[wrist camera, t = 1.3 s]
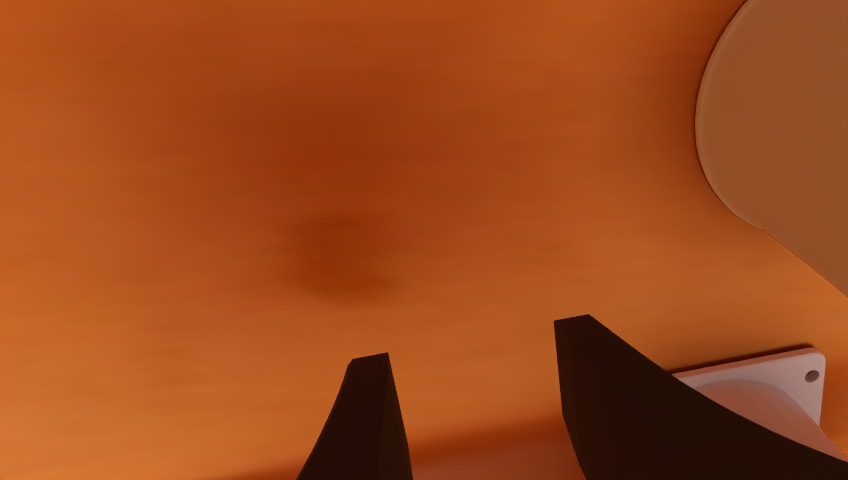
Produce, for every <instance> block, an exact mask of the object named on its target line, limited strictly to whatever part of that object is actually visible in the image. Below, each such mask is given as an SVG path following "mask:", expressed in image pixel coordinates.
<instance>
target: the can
mask: <svg viewBox="0 0 848 480" xmlns="http://www.w3.org/2000/svg"><path fill="white" fill-rule="evenodd" d="M695 135H696V146H697V151H698V155H699V159H700V163H701V166H702V168H703V171H704V174H705V176H706V178H707V180H708V182H709V184H710V186H711V188H712V189H713V191H714V192H715V193H716V195H717V196H718V197H719V199H720V200H721V201H722V202H723V203H724V204H725V205H726V207H727V208H728V209H729V210H731V211H732V212H733V213H734V214H735V215H737V216H738V217H739V218H741V219H742V220H744V221H745V222H747V223H749V224H751V225H753V226H755V227H757V228H759V229H761V230H764V231H765V232H766V233H768V234H769V235H770V236H772V237H773V238H774V239H776V240H777V241H778V242H779V243H781V244H782V245H783V246H785V247H786V248H787V249H788V250H790V251H791V252H792V253H794V254H795V255H796V256H797V257H799V258H800V259H801V260H803V261H804V262H805V263H806V264H808V265H809V266H810V267H811V268H813V269H814V270H815V271H816V272H817V273H819V274H820V275H821V276H822V277H824V278H825V279H826V280H827V281H829V282H830V283H831V284H832V285H834V286H835V287H836V288H837V289H839V290H840V291H841V292H842V293H844V294H845V295H846V296H847V297H848V0H747V1H746V2H745V4H744V5H743V6H742V7H741V8H740V9H739V11H738V12H737V14H736V15H735V16H734V18H733V19H732V20H731V22H730V23H729V24H728V26H727V27H726V29H725V30H724V32H723V34H722V35H721V37H720V39H719V41H718V43H717V45H716V47H715V49H714V51H713V53H712V55H711V57H710V59H709V61H708V64H707V67H706V69H705V72H704V75H703V78H702V81H701V85H700V89H699V94H698V98H697V105H696V114H695Z"/></svg>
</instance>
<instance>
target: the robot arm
mask: <svg viewBox="0 0 848 480" xmlns="http://www.w3.org/2000/svg"><path fill="white" fill-rule="evenodd" d="M554 329H555V340H556V350H557V361H558V372H559V382H560V393H561V403H562V414H563V417H564V420H565V423H566V427H567V430H568V433H569V436H570V439H571V442H572V445H573V447H574V450H575V453H576V456H577V459H578V462H579V465H580V467H581V469H582V471H583V473H584V475H585V478H586V480H848V459H847V458H846V457H845V455H844V454H843V453H842V452H841V451H840V450H839V449H838V448H837V446H836V445H835V444H834V443H833V442H832V441H831V440H830V439H829V437H828V436H827V435H826V434H825V433H824V432H823V431H822V430H821V428H820V427H819V425H820V415H821V405H822V396H823V386H824V376H825V366H826V358H825V356H824V355H823V354H822V353H821V352H820V351H819V350H818V349H816V348H805V349H799V350H794V351H789V352H784V353H779V354H773V355H768V356H763V357H758V358H753V359H748V360H742V361H737V362H732V363H727V364H722V365H716V366H711V367H706V368H701V369H696V370H690V371H685V372H680V373H675V374H670V373H668V372H667V371H665V370H664V369H662V368H661V367H660V366H658V365H657V364H655V363H654V362H652V361H651V360H649V359H648V358H647V357H645V356H644V355H642V354H641V353H640V352H638V351H637V350H636V349H634V348H633V347H632V346H630V345H629V344H628V343H626V342H625V341H624V340H622V339H621V338H620V337H618V336H617V335H616V334H614V333H613V332H612V331H610V330H609V329H608V328H607V327H605V326H604V325H603V324H601V323H600V322H599V321H597V320H596V319H594V318H593V317H592V316H590V315H589V314H587V315H582V316H577V317H571V318H566V319H561V320H556V321H554ZM809 371H812V372H811V373H810V374H808V375H806V374H807V373H808V372H809ZM296 480H413V477H412V469H411V462H410V455H409V448H408V442H407V438H406V433H405V429H404V424H403V419H402V415H401V410H400V406H399V401H398V396H397V392H396V387H395V383H394V378H393V373H392V369H391V364H390V360H389V355H388V352H387V353H382V354H377V355H372V356H366V357H361V358H356V359H353V360H352V361H351V362H350V364H349V365H348V367H347V370H346V373H345V376H344V379H343V382H342V385H341V388H340V390H339V393H338V396H337V398H336V400H335V403H334V405H333V408H332V410H331V412H330V415H329V417H328V419H327V421H326V423H325V425H324V427H323V430H322V432H321V434H320V436H319V438H318V440H317V442H316V444H315V446H314V448H313V450H312V452H311V454H310V455H309V457H308V459H307V461H306V463H305V465H304V466H303V468H302V470H301V472H300V474H299V475H298V477H297V479H296Z"/></svg>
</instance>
